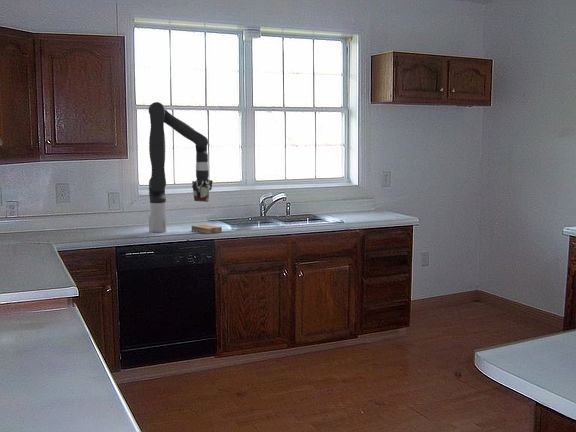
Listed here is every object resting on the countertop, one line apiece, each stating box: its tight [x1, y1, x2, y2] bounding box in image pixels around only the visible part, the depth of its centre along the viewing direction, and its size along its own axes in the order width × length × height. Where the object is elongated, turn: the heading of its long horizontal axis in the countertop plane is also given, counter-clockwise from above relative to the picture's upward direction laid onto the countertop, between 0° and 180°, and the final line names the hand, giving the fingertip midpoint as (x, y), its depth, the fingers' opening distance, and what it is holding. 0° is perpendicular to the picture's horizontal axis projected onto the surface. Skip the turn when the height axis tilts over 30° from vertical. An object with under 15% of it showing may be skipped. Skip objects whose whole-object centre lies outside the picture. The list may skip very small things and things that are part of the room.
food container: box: [191, 183, 210, 203], centre depth 377 cm, size 12×6×10 cm, turn 60°
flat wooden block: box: [191, 223, 223, 235], centre depth 374 cm, size 10×16×3 cm, turn 45°
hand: (202, 197), depth 377 cm, fingers closed on food container, 5 cm apart
